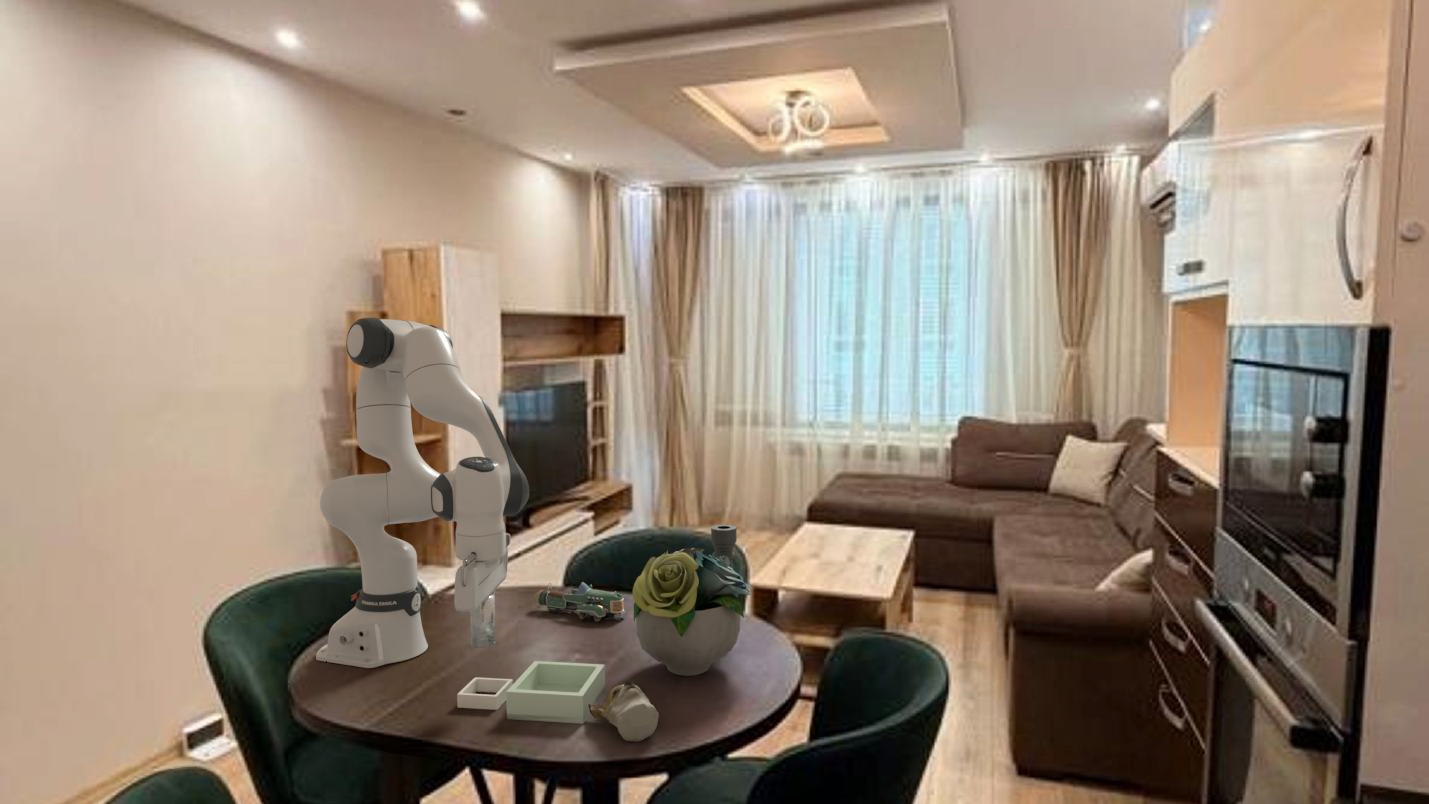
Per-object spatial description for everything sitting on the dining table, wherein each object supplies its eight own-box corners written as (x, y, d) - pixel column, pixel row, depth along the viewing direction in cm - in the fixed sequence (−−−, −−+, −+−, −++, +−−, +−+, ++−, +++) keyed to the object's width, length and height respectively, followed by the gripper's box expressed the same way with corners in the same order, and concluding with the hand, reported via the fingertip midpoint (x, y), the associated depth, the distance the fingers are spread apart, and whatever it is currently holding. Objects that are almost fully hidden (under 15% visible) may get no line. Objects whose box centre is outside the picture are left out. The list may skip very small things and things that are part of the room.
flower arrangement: (664, 639, 183) (663, 531, 181) (767, 657, 172) (767, 543, 170) (602, 680, 161) (600, 558, 159) (716, 704, 150) (715, 574, 148)
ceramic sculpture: (613, 701, 132) (583, 673, 145) (614, 754, 132) (585, 721, 145) (673, 688, 137) (639, 662, 150) (674, 740, 137) (640, 709, 150)
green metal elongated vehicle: (615, 626, 192) (615, 592, 191) (523, 615, 200) (523, 582, 200) (633, 614, 201) (632, 581, 200) (544, 603, 209) (544, 571, 209)
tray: (506, 718, 145) (506, 691, 144) (535, 686, 159) (534, 660, 158) (583, 723, 143) (582, 696, 142) (605, 689, 157) (604, 664, 156)
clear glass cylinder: (466, 644, 151) (464, 597, 151) (484, 637, 155) (483, 590, 154) (482, 649, 149) (480, 601, 148) (500, 642, 153) (499, 595, 152)
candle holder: (717, 643, 180) (716, 531, 178) (706, 634, 186) (705, 525, 184) (742, 638, 183) (742, 529, 181) (731, 630, 189) (730, 523, 187)
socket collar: (457, 707, 149) (457, 694, 149) (475, 690, 157) (475, 677, 157) (497, 709, 148) (496, 696, 148) (513, 692, 156) (512, 679, 156)
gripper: (480, 562, 140) (482, 640, 141) (513, 532, 160) (514, 601, 162) (443, 561, 140) (446, 640, 141) (481, 532, 161) (482, 600, 162)
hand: (482, 619), depth 152 cm, fingers closed on clear glass cylinder, 4 cm apart
